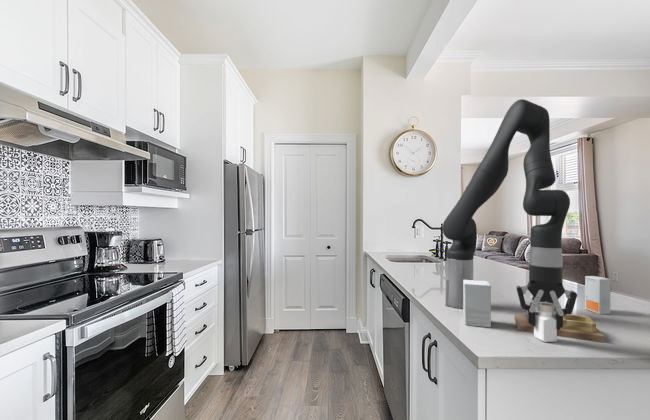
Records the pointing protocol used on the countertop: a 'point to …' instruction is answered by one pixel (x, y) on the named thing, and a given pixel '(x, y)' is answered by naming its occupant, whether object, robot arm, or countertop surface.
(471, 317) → the supplement box
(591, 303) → the skincare box
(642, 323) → the countertop surface
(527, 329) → the brown wooden flat board
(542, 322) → the pepper shaker
